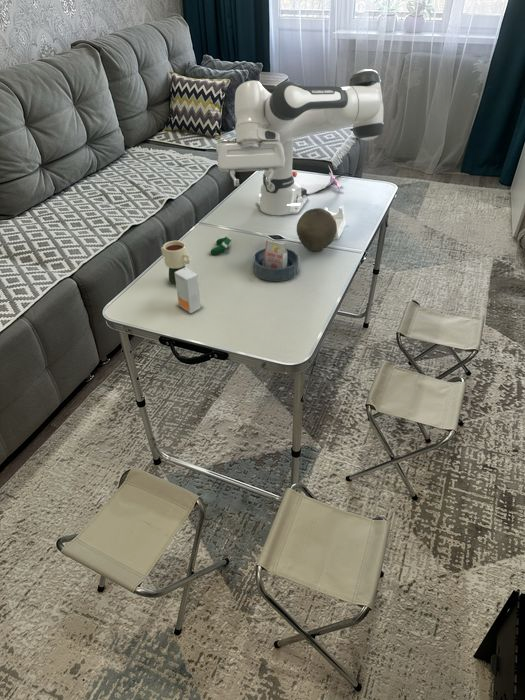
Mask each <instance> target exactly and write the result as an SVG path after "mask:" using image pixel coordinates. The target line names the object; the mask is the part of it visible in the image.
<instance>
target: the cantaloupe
mask: <svg viewBox="0 0 525 700" xmlns="http://www.w3.org/2000/svg"><path fill="white" fill-rule="evenodd" d="M330 212H331V211H330ZM330 212H328V211H326V210H324V208H321V207H315V208H311V209H308V210H306V211H304V212H303V214H302V215H301V216H300V217H299V219H298V221H297V223H296V234H297V237H298V239H299V242H300V244H301V245H302V246H303V247H304V248H305V249H306V250H309V251H313V252H314V251H315V252H317V251H320V250H324V249H326V248H327V247H329V246H330V245H331V244H332V243H333V242H334V240H335V239H334V238H335V235H336V232H337V225H336V221H335V219H334V217H333V216H332V214H331V213H330Z"/></svg>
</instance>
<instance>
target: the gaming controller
mask: <svg viewBox="0 0 525 700" xmlns="http://www.w3.org/2000/svg"><path fill="white" fill-rule="evenodd" d="M231 242H232V237H231V236H229V235H226V236H225V237H221V238H218V239H217V240H216V241H215V243H216V245H218V246H216V247H213V248H212V249H211V250H210V254H211V255H217V254H221V253H225V252H226V251H227V249H228V247H229V246H230V244H231Z"/></svg>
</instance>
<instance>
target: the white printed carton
mask: <svg viewBox="0 0 525 700" xmlns="http://www.w3.org/2000/svg"><path fill="white" fill-rule="evenodd" d="M264 248H265V252H264V267H267V268H273V269H280V268H286V267H287V254H288V253H287V249H288V248H287V244H286V243H282V242H277V241H272V240H269V239H267V240H266V241H265V247H264ZM286 248H287V249H286Z"/></svg>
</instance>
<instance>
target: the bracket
mask: <svg viewBox="0 0 525 700" xmlns="http://www.w3.org/2000/svg"><path fill="white" fill-rule="evenodd" d="M323 209H324V210H326V211H328V212H330V213H331V214H332V216H333V217H334V219H335V221H336V225H337V232H336V235H335V238H334V239H333V240H339V239H340V237H341V235H342V234H343V231H344V230H345V228H346V225H347V220H346V215H345V208H344V205H343V204H342V205H339V208H338V211H337V212H332V211H331V210H330V209H329V208H328V207H326V206H325V207H324V208H323Z"/></svg>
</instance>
